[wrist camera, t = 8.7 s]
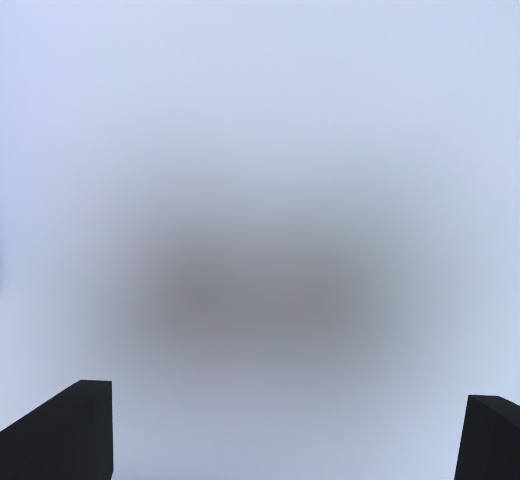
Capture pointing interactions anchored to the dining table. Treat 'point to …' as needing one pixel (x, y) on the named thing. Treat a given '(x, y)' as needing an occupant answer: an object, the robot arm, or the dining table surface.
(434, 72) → the dining table surface
